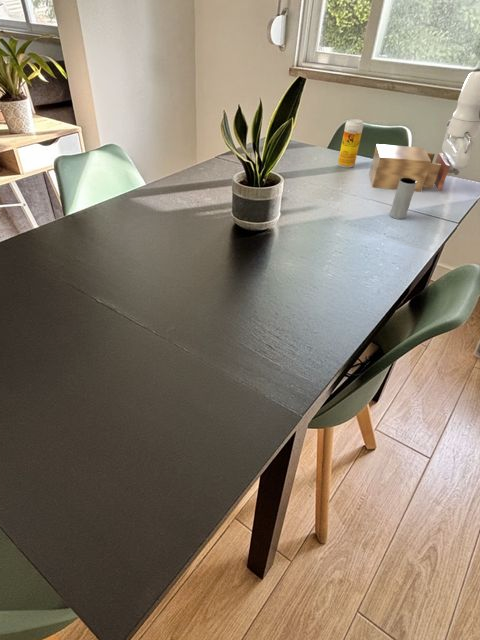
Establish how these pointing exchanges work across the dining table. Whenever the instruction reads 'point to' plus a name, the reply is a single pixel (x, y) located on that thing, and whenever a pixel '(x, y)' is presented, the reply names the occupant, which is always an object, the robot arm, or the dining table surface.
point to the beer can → (350, 143)
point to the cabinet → (398, 166)
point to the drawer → (438, 171)
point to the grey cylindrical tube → (403, 198)
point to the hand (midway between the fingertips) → (447, 174)
